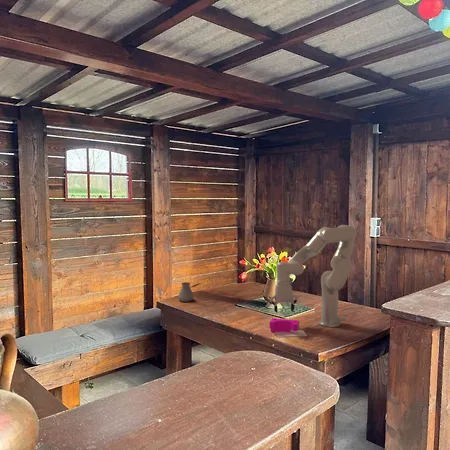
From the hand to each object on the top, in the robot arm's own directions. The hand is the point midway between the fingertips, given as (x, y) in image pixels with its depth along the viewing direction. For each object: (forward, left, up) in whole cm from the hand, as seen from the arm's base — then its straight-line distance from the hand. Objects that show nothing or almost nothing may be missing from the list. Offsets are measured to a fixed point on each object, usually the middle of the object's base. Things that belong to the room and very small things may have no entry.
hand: (284, 311), depth 236 cm
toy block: (+2, +10, -4) cm, 11 cm away
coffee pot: (+53, -60, -8) cm, 80 cm away
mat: (+1, +16, -8) cm, 18 cm away
